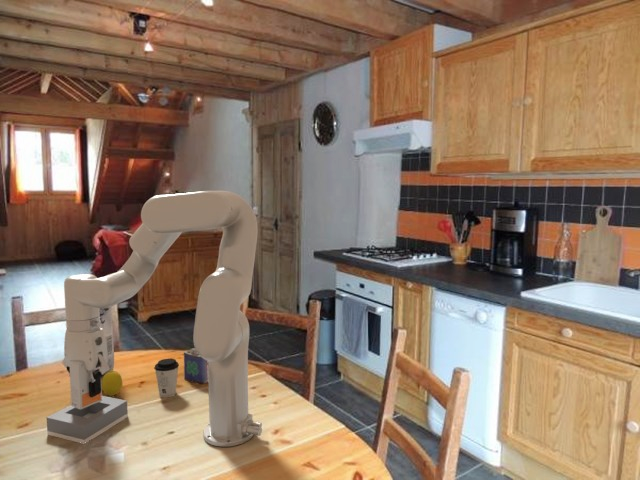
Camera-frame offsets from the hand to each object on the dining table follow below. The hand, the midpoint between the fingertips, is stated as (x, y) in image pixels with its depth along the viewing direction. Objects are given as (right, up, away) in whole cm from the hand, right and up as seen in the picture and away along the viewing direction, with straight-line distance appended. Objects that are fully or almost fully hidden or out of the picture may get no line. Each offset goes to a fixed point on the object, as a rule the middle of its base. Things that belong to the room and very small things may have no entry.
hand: (86, 392), depth 117 cm
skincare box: (0, -3, 0) cm, 3 cm away
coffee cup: (+14, -7, +19) cm, 25 cm away
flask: (+20, -6, +29) cm, 35 cm away
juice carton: (-14, -5, +34) cm, 37 cm away
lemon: (-1, -7, +17) cm, 19 cm away
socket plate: (0, -9, +1) cm, 9 cm away
